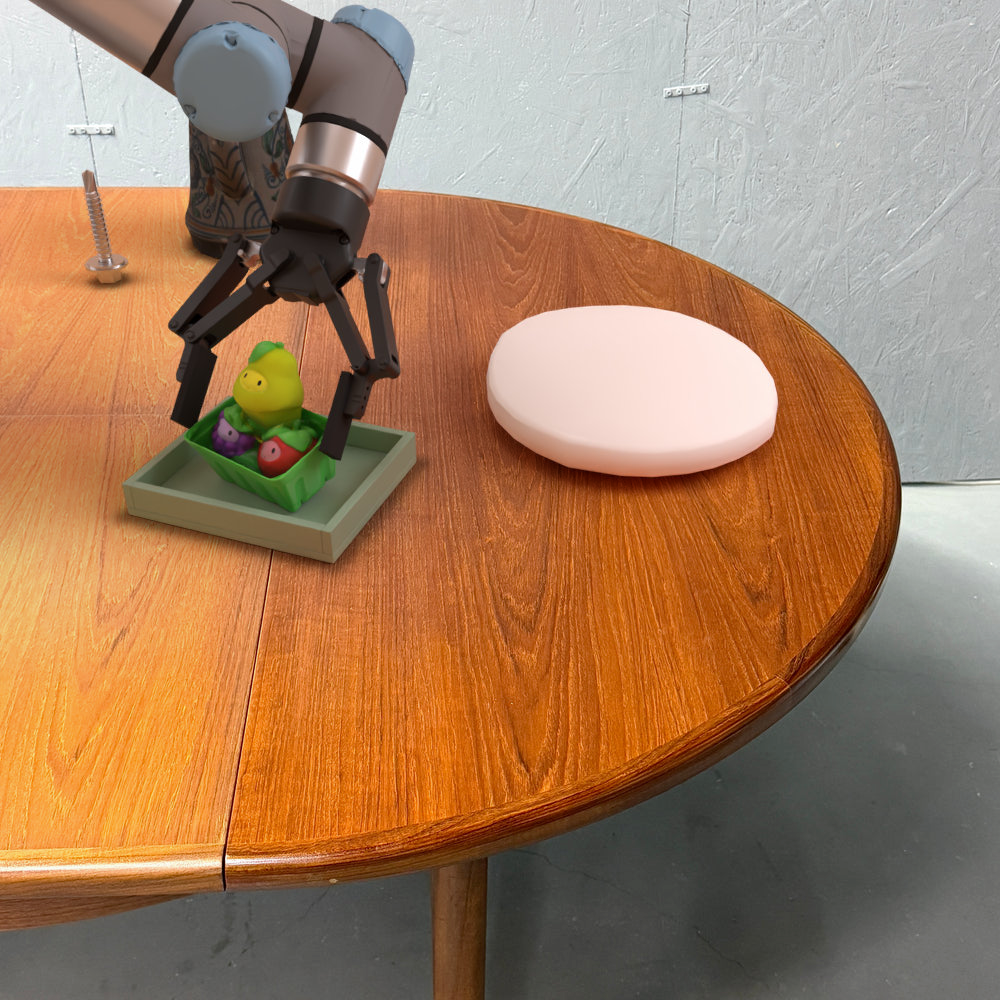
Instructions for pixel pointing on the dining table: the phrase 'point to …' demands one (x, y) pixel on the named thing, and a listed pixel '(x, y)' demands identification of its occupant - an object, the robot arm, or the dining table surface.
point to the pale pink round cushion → (630, 391)
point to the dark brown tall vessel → (235, 186)
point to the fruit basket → (266, 432)
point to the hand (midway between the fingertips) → (254, 440)
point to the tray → (251, 519)
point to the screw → (101, 236)
